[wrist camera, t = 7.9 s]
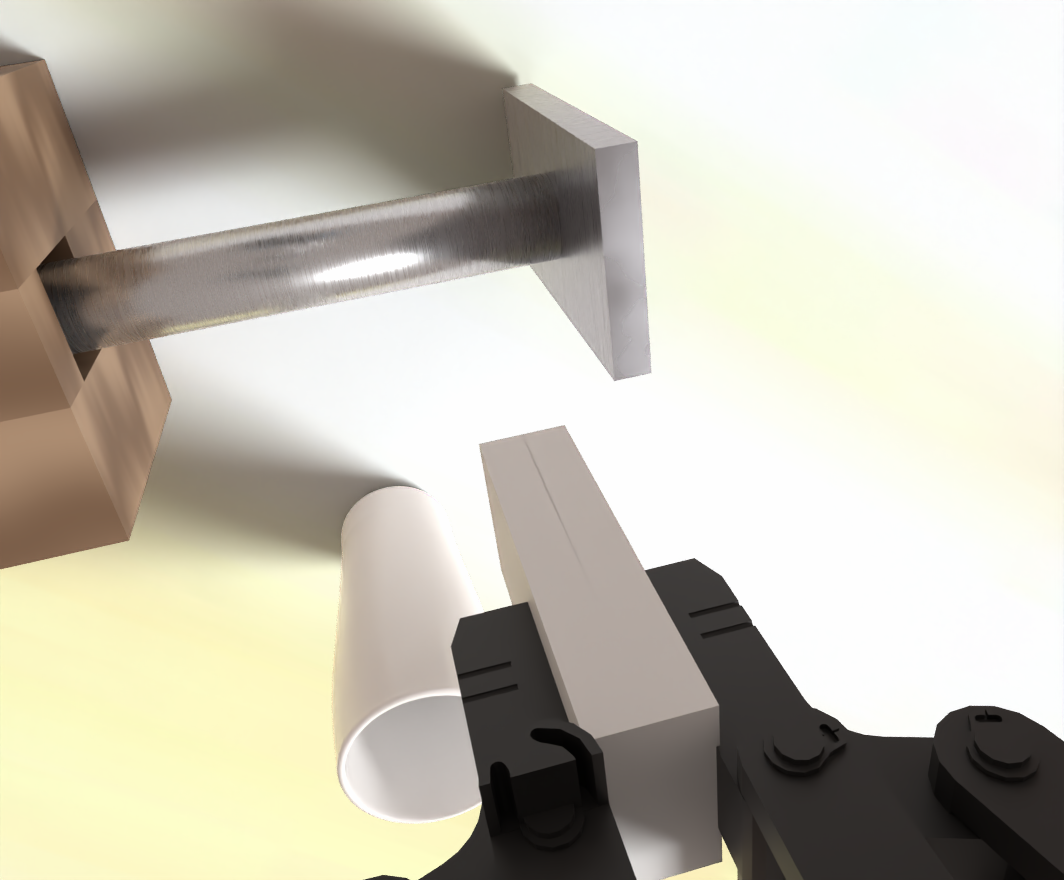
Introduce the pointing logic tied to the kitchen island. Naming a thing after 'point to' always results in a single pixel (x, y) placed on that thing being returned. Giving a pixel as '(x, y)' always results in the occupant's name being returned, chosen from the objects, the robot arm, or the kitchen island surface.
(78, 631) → the kitchen island surface
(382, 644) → the drinking glass
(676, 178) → the kitchen island surface
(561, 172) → the shaft
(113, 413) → the bearing block
